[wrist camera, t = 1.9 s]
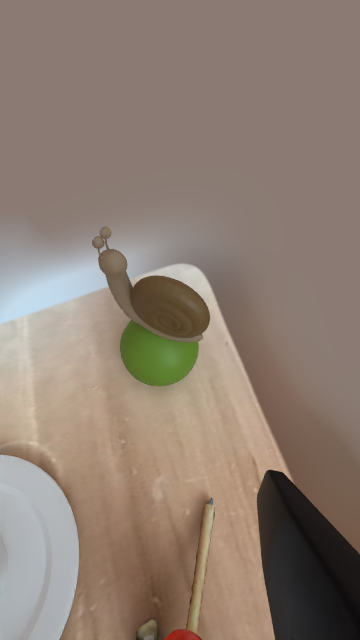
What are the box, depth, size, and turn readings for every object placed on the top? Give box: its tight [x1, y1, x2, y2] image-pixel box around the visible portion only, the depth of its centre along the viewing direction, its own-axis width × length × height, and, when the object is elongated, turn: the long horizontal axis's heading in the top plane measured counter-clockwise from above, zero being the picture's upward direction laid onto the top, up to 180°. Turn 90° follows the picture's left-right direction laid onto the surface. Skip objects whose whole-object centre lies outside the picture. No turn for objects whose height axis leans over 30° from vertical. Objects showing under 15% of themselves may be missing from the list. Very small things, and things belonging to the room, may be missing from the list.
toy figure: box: [136, 498, 215, 640], centre depth 15 cm, size 10×4×7 cm
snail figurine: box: [92, 227, 210, 386], centre depth 18 cm, size 5×6×12 cm
